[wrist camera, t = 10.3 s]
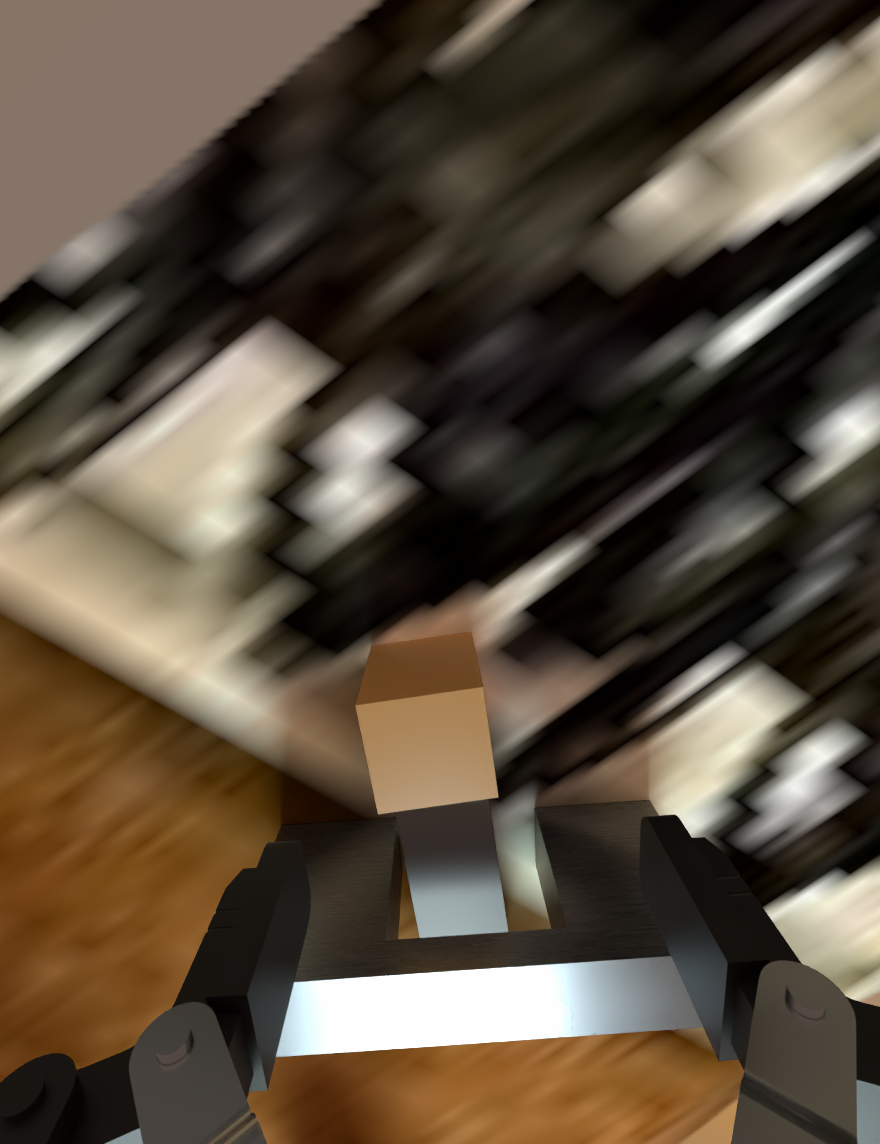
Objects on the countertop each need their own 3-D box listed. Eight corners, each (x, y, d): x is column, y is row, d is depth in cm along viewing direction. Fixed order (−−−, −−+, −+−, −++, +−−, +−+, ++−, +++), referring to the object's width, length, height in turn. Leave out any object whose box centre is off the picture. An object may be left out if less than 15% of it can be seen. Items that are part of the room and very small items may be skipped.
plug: (512, 922, 25) (531, 1035, 20) (427, 934, 25) (426, 1049, 20) (471, 631, 21) (483, 686, 17) (371, 646, 21) (355, 705, 17)
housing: (290, 882, 24) (235, 1059, 17) (281, 825, 23) (219, 987, 16) (647, 857, 24) (733, 1025, 17) (649, 800, 23) (740, 951, 16)
